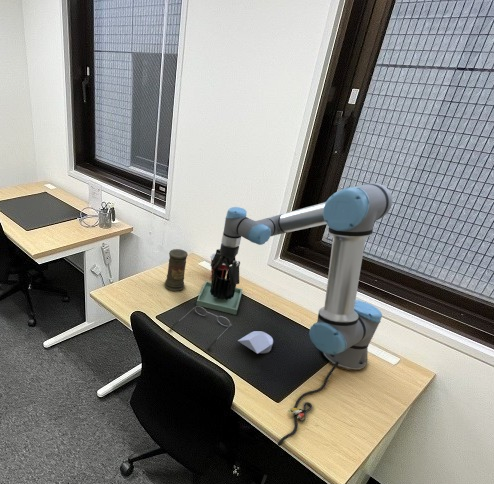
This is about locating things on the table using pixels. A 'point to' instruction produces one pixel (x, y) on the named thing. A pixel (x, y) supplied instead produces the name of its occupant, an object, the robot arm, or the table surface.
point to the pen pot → (220, 285)
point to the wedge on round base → (257, 342)
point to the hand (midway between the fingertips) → (221, 288)
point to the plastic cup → (220, 266)
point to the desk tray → (218, 300)
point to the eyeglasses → (205, 315)
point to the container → (176, 270)
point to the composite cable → (301, 411)
